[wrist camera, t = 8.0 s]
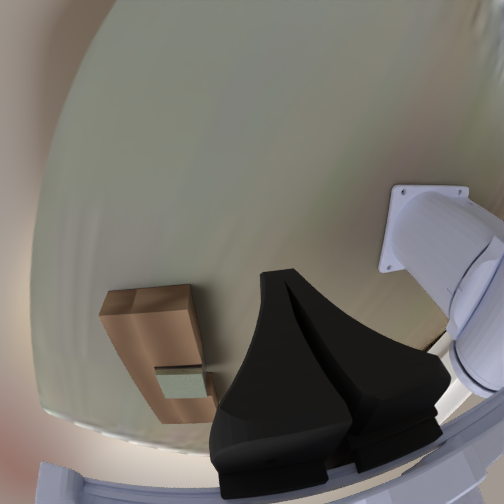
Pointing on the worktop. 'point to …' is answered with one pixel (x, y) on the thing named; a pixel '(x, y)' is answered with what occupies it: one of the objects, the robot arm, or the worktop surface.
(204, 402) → the brown u-shaped block
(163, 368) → the sage green cube
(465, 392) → the shelf bracket
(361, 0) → the worktop surface
